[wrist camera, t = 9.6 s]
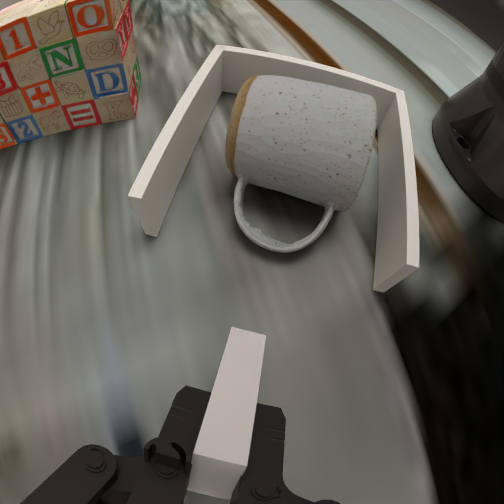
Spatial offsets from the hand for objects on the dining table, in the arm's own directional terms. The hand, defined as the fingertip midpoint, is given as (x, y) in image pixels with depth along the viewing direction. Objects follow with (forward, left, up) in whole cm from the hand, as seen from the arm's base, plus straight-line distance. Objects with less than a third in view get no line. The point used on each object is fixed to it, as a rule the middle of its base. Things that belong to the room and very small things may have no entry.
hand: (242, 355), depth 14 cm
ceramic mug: (-11, -4, -4) cm, 13 cm away
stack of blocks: (-5, -28, -4) cm, 28 cm away
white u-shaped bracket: (-13, -5, -4) cm, 14 cm away
